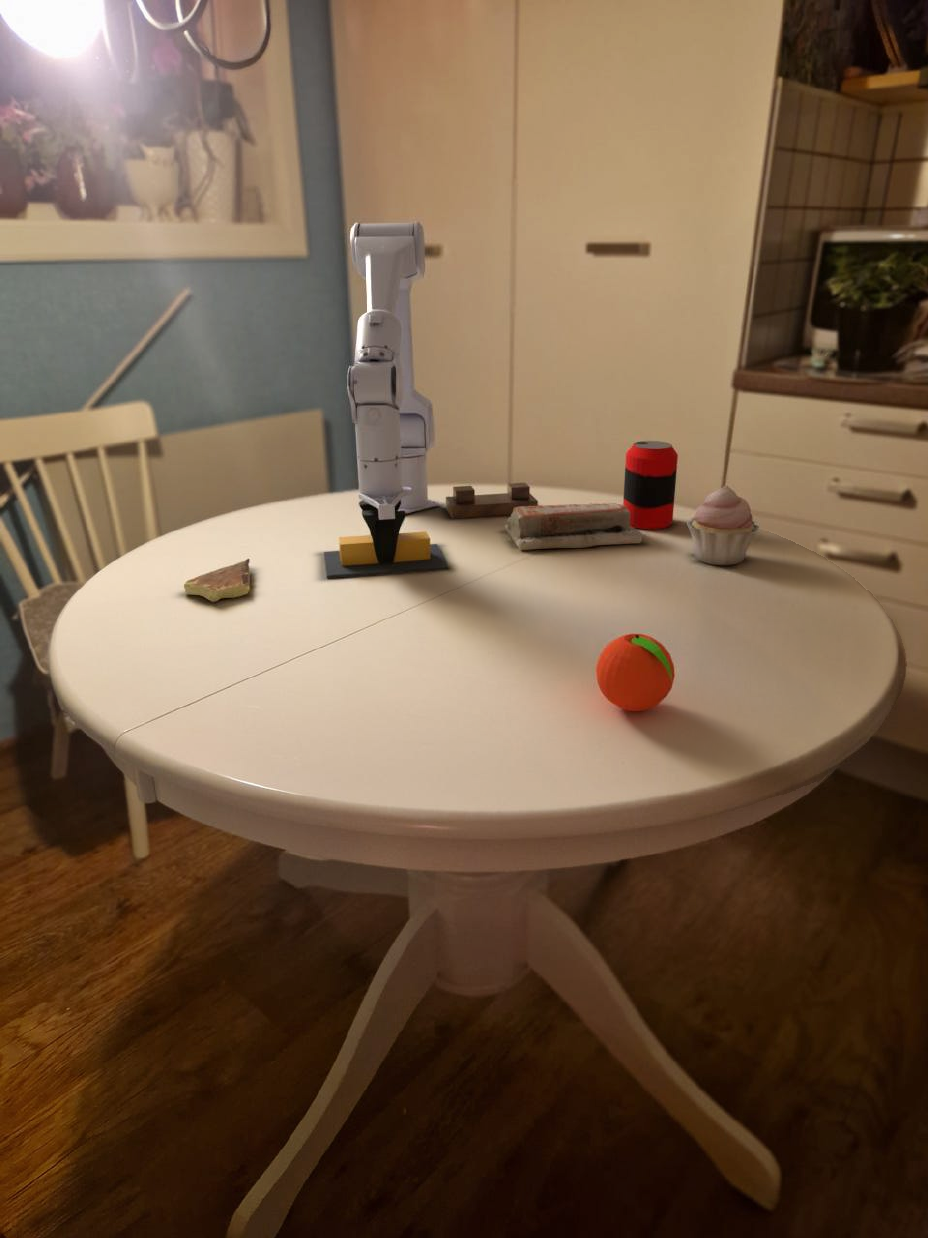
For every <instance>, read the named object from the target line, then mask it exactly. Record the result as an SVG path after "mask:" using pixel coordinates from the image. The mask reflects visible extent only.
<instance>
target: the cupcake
mask: <svg viewBox="0 0 928 1238" xmlns="http://www.w3.org/2000/svg"><path fill="white" fill-rule="evenodd" d="M686 525H687V527H688V530H689V532H690V534H691V539H692V543H693V544H692V545H693V550H694V557H695V558H696V559H697V560H698V561H700V562H702V563H705V564H710V565H714V566H733V565H738V564H740V563H742V562H743V561H744V559H745V557H746V554H747V551H748V549H749V547H750V544H751V541H752V539H753V538H754V536H755V534H756V533H757V532H758V530H759V529H760V526H759V525H758V524H755V521H754V520H753V514H752V509H751V507H750V504H749V502H748V501H747V500H746V499H744V498H743V497H741V496H738V495H737V493H736V492H735V491H734V490H733V489H732V488H731V487H729V486H728V485H724V486H723V487H721V488H720V489H718V490H715V491H713V492H712V493H710V494H708V495H707V496H706V497H705V499H704V502H703V503H702V504H700V506H698V507H697V508H696V510H695V513H694V517H691V518H690V520H688V521H686Z"/></svg>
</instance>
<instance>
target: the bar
mask: <svg viewBox="0 0 928 1238" xmlns="http://www.w3.org/2000/svg"><path fill="white" fill-rule="evenodd" d="M430 544H431V538H430V535H429V534H428V531H425V530H424V531H410V532H399V535H398V540H397V547H396V554H395V558H394V561H393V562H402V561H416V560H429V559H431V554H430ZM338 545H339V546H338V547H339V551H340V560H341V565H342V566H347V565H361V564H374V563H379V562H378V560H377V557H376V553H375V549H374V544H373V539H372V535H371V534H367V535H366V534H365V535H352V536H351V535H350V536H339V537H338ZM383 563H388V562H383Z"/></svg>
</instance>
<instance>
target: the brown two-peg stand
mask: <svg viewBox="0 0 928 1238" xmlns="http://www.w3.org/2000/svg"><path fill="white" fill-rule="evenodd" d="M506 487H507V488H506V491H507V492H506V493H505V492H504V493H488V494H475V493H476V492H475V491H476V490H475V489H474V488H473V486H472V485H460V486H452V496H445V510H446V511H447V513H448V514H449V516H450V518H451V519H463V518H464V519H465V518H466V519H467V518H480V517H481V518H482V517H495V516H496V517H497V516H509V515H510V516H511V514H512V513H513V509H514V508H515V507H520V506H539V501H538V499H536V498H535V496H534V495H533V494H531V492H530V491H531V490H530V489H531V487H530V486H529V485H528V483H526V482H511V483H510V482H509V483H507V485H506Z"/></svg>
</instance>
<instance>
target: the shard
mask: <svg viewBox="0 0 928 1238" xmlns="http://www.w3.org/2000/svg"><path fill="white" fill-rule="evenodd" d="M250 561H251V560H250V558H247V559H245V560H243V561H242V560H241V561H238V562H237V563H234V564H231V565H227V566H225V567H221V568H218V569H216V570H213V571H212V570H211V571H209V572H207V573H204V574H201V575H199V576H196V577H194V578H191V579H189V580H187V581H186V582H185V583H184V584H183V588H184V592H185V594H186V595H192V596H201V597H204V598H205V599H206V600H208V601H210V602H212V603H215V602H218V601H220V599H224V598H226V599H229V598H238V597H241V596H245V595H248V594H249V592H250V589H251V585H250V582H251V579H250V576H251V568H250Z"/></svg>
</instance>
